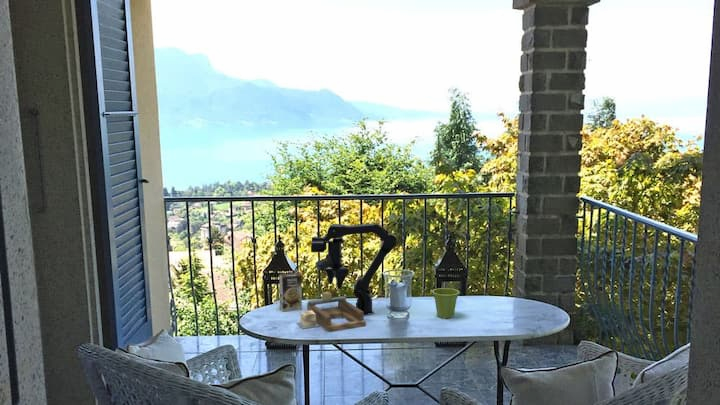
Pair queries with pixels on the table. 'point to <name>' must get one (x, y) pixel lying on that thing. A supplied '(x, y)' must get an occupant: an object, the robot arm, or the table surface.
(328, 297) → the latch bar
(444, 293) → the plant pot
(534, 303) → the table surface
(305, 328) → the slate mat
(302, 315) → the beech block
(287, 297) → the coffee box
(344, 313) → the puzzle board
